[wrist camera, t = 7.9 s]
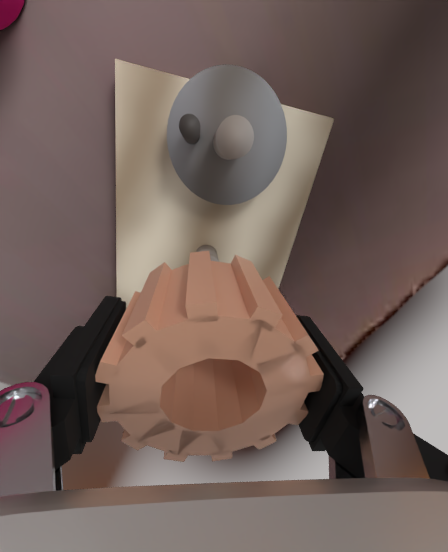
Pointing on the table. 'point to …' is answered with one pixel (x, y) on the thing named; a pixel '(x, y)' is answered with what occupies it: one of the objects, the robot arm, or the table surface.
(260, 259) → the board
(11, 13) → the pepper mill
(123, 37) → the table surface
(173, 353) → the gear
